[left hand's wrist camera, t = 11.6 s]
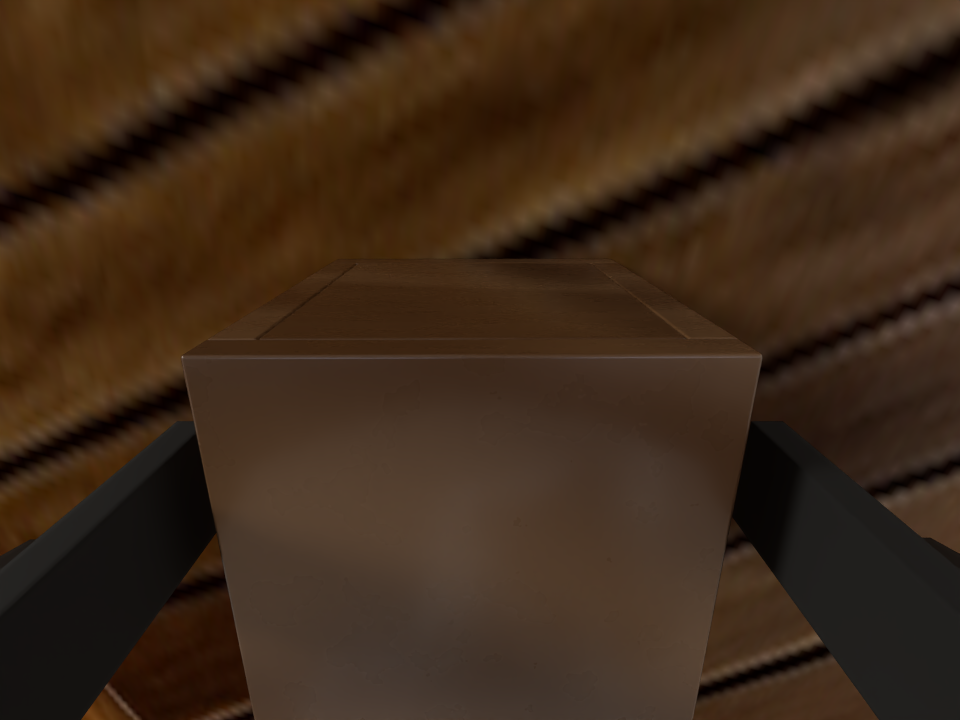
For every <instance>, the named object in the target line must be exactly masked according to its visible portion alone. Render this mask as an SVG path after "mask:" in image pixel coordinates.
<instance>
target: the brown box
mask: <svg viewBox="0 0 960 720" xmlns="http://www.w3.org/2000/svg"><path fill="white" fill-rule="evenodd" d="M181 361H182V366H183V371H184V376H185V381H186V386H187V390H188V395H189V400H190V405H191V410H192V415H193V420H194V425H195V430H196V435H197V439H198V444H199V449H200V454H201V459H202V464H203V469H204V474H205V479H206V484H207V488H208V493H209V498H210V503H211V508H212V513H213V518H214V523H215V528H216V533H217V537H218V542H219V547H220V552H221V557H222V562H223V567H224V572H225V577H226V582H227V586H228V591H229V596H230V601H231V606H232V611H233V616H234V621H235V626H236V631H237V635H238V640H239V645H240V650H241V655H242V660H243V665H244V670H245V675H246V680H247V684H248V689H249V694H250V699H251V704H252V709H253V714H254V719H255V720H693V716H694V710H695V705H696V700H697V695H698V690H699V684H700V679H701V674H702V669H703V664H704V658H705V653H706V648H707V643H708V638H709V632H710V627H711V622H712V617H713V612H714V606H715V601H716V596H717V591H718V586H719V580H720V575H721V570H722V565H723V560H724V554H725V549H726V544H727V539H728V534H729V528H730V523H731V518H732V513H733V508H734V502H735V497H736V492H737V487H738V482H739V476H740V471H741V466H742V461H743V456H744V450H745V445H746V440H747V435H748V430H749V424H750V419H751V414H752V409H753V404H754V398H755V393H756V388H757V383H758V378H759V372H760V367H761V362H762V354H761V353H759V352H758V351H756V350H754V349H753V348H751V347H750V346H748V345H746V344H745V343H743V342H742V341H740V340H738V339H737V338H736V337H734V336H733V335H731V334H730V333H728V332H726V331H725V330H723V329H722V328H720V327H719V326H717V325H715V324H714V323H712V322H711V321H709V320H707V319H706V318H704V317H703V316H701V315H700V314H698V313H696V312H695V311H693V310H692V309H690V308H688V307H687V306H685V305H684V304H682V303H681V302H679V301H677V300H676V299H674V298H673V297H671V296H669V295H668V294H666V293H665V292H663V291H662V290H660V289H658V288H657V287H655V286H654V285H652V284H650V283H649V282H647V281H646V280H644V279H643V278H641V277H639V276H638V275H636V274H635V273H633V272H631V271H630V270H628V269H627V268H625V267H623V266H622V265H620V264H619V263H616V262H615V261H613V260H612V259H338V260H336V261H334V262H333V263H331V264H329V265H327V266H326V267H324V268H323V269H321V270H319V271H318V272H316V273H314V274H313V275H311V276H310V277H308V278H306V279H305V280H303V281H302V282H300V283H298V284H297V285H295V286H293V287H292V288H290V289H289V290H287V291H285V292H284V293H282V294H281V295H279V296H277V297H276V298H274V299H272V300H271V301H269V302H268V303H266V304H264V305H263V306H261V307H260V308H258V309H256V310H255V311H253V312H251V313H250V314H248V315H247V316H245V317H243V318H242V319H240V320H238V321H237V322H235V323H234V324H232V325H230V326H229V327H227V328H226V329H224V330H222V331H221V332H219V333H217V334H216V335H214V336H213V337H211V338H209V340H207V341H204V342H203V343H201V344H200V345H198V346H196V347H195V348H193V349H192V350H190V351H188V352H187V353H185V354H183V355H182V357H181Z"/></svg>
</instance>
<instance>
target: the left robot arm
mask: <svg viewBox="0 0 960 720" xmlns="http://www.w3.org/2000/svg"><path fill="white" fill-rule="evenodd" d="M732 517H733V518H734V520H735V521H736V523H737V524H738V525H739V527H740V528H741V529H742V531H743V532H744V534H745V535H746V536H747V538H748V539H749V541H750V542H751V543H752V545H753V546H754V547H755V549H756V550H757V552H758V553H759V554H760V556H761V557H762V559H763V560H764V561H765V563H766V564H767V565H768V567H769V568H770V570H771V571H772V572H773V574H774V575H775V577H776V578H777V579H778V581H779V582H780V583H781V585H782V586H783V588H784V589H785V590H786V592H787V593H788V594H789V596H790V597H791V599H792V600H793V601H794V603H795V604H796V606H797V607H798V608H799V610H800V611H801V612H802V614H803V615H804V617H805V618H806V619H807V621H808V622H809V624H810V625H811V626H812V628H813V629H814V630H815V632H816V633H817V635H818V636H819V637H820V639H821V640H822V641H823V643H824V644H825V646H826V647H827V648H828V650H829V651H830V653H831V654H832V655H833V657H834V658H835V659H836V661H837V662H838V664H839V665H840V666H841V668H842V669H843V671H844V672H845V673H846V675H847V676H848V677H849V679H850V680H851V682H852V683H853V684H854V686H855V687H856V689H857V690H858V691H859V693H860V694H861V695H862V697H863V698H864V700H865V701H866V702H867V704H868V705H869V706H870V708H871V709H872V711H873V712H874V713H875V715H876V716H877V718H878V719H879V720H960V554H959V553H957V552H955V551H953V550H952V549H950V548H948V547H946V546H944V545H943V544H941V543H939V542H937V541H935V540H933V539H932V538H921V537H920V536H919V535H918V534H917V533H915V532H914V531H913V530H912V529H911V528H909V527H908V526H907V525H906V524H905V523H903V522H902V521H901V520H900V519H899V518H897V517H896V516H895V515H894V514H893V513H892V512H890V511H889V510H888V509H887V508H886V507H884V506H883V505H882V504H881V503H880V502H878V501H877V500H876V499H875V498H874V497H872V496H871V495H870V494H869V493H868V492H866V491H865V490H864V489H863V488H862V487H860V486H859V485H858V484H857V483H856V482H854V481H853V480H852V479H851V478H850V477H849V476H847V475H846V474H845V473H844V472H843V471H841V470H840V469H839V468H838V467H837V466H835V465H834V464H833V463H832V462H831V461H829V460H828V459H827V458H826V457H825V456H823V455H822V454H821V453H820V452H819V451H817V450H816V449H815V448H814V447H813V446H812V445H810V444H809V443H808V442H807V441H806V440H804V439H803V438H802V437H801V436H800V435H798V434H797V433H796V432H795V431H794V430H792V429H791V428H790V427H789V426H788V425H786V424H785V423H784V422H783V421H751V424H750V429H749V434H748V439H747V444H746V449H745V454H744V459H743V465H742V470H741V475H740V480H739V485H738V490H737V495H736V500H735V505H734V510H733V515H732ZM215 534H216V528H215V523H214V518H213V513H212V508H211V503H210V498H209V493H208V488H207V484H206V479H205V474H204V469H203V464H202V459H201V454H200V449H199V444H198V439H197V435H196V430H195V425H194V421H177V422H176V423H175V424H174V425H172V426H171V427H170V428H169V429H168V430H166V431H165V432H164V433H163V434H162V435H160V436H159V437H158V438H157V439H156V440H154V441H153V442H152V443H151V444H150V445H148V446H147V447H146V448H145V449H144V450H143V451H141V452H140V453H139V454H138V455H137V456H135V457H134V458H133V459H132V460H131V461H129V462H128V463H127V464H126V465H125V466H123V467H122V468H121V469H120V470H119V471H117V472H116V473H115V474H114V475H113V476H111V477H110V478H109V479H108V480H107V481H106V482H104V483H103V484H102V485H101V486H100V487H98V488H97V489H96V490H95V491H94V492H92V493H91V494H90V495H89V496H88V497H86V498H85V499H84V500H83V501H82V502H80V503H79V504H78V505H77V506H76V507H74V508H73V509H72V510H71V511H70V512H68V513H67V514H66V515H65V516H64V517H63V518H61V519H60V520H59V521H58V522H57V523H55V524H54V525H53V526H52V527H51V528H49V529H48V530H47V531H46V532H45V533H43V534H42V535H41V536H40V537H39V538H37V539H36V540H29V541H27V542H25V543H23V544H21V545H20V546H18V547H16V548H14V549H12V550H11V551H9V552H7V553H5V554H3V555H2V556H0V720H81V719H82V718H83V716H84V715H85V713H86V712H87V711H88V709H89V708H90V706H91V705H92V704H93V702H94V701H95V700H96V698H97V697H98V695H99V694H100V693H101V691H102V690H103V689H104V687H105V686H106V684H107V683H108V682H109V680H110V679H111V677H112V676H113V675H114V673H115V672H116V671H117V669H118V668H119V666H120V665H121V664H122V662H123V661H124V659H125V658H126V657H127V655H128V654H129V653H130V651H131V650H132V648H133V647H134V646H135V644H136V643H137V641H138V640H139V639H140V637H141V636H142V635H143V633H144V632H145V630H146V629H147V628H148V626H149V625H150V624H151V622H152V621H153V619H154V618H155V617H156V615H157V614H158V612H159V611H160V610H161V608H162V607H163V606H164V604H165V603H166V601H167V600H168V599H169V597H170V596H171V594H172V593H173V592H174V590H175V589H176V588H177V586H178V585H179V583H180V582H181V581H182V579H183V578H184V577H185V575H186V574H187V572H188V571H189V570H190V568H191V567H192V565H193V564H194V563H195V561H196V560H197V559H198V557H199V556H200V554H201V553H202V552H203V550H204V549H205V547H206V546H207V545H208V543H209V542H210V541H211V539H212V538H213V536H214V535H215Z"/></svg>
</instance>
